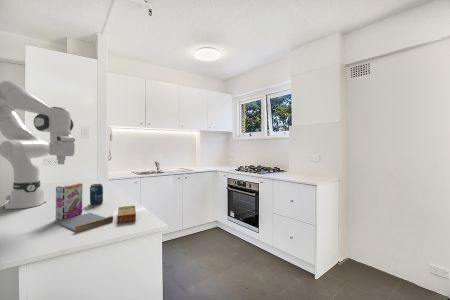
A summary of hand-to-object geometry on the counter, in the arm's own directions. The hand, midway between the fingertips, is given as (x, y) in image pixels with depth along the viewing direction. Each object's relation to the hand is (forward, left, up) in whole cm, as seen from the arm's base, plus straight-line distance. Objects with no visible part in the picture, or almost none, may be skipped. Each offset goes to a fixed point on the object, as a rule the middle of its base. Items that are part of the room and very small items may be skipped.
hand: (61, 164), depth 116 cm
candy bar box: (+9, 0, -27) cm, 28 cm away
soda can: (-3, +20, -27) cm, 33 cm away
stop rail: (+33, 0, -26) cm, 42 cm away
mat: (+22, 0, -26) cm, 34 cm away
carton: (+34, +15, -27) cm, 46 cm away
